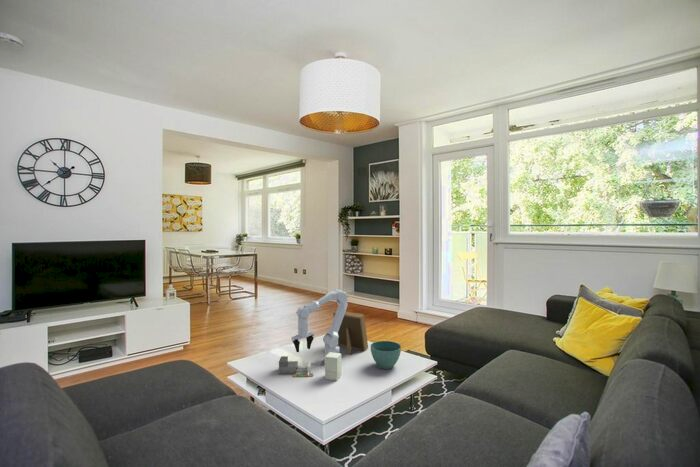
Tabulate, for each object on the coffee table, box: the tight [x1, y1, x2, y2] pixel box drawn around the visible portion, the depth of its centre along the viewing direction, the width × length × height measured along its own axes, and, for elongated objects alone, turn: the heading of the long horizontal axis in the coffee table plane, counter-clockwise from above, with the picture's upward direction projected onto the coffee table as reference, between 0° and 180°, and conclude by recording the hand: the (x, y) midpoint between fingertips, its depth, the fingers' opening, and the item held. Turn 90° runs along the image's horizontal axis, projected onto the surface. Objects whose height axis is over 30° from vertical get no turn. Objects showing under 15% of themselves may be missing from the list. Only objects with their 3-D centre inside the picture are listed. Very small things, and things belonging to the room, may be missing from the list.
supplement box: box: [324, 352, 343, 381], centre depth 194 cm, size 7×7×13 cm
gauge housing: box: [278, 355, 299, 375], centre depth 202 cm, size 10×8×7 cm
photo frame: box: [332, 309, 369, 355], centre depth 236 cm, size 15×22×25 cm
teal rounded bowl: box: [369, 340, 402, 370], centre depth 209 cm, size 18×18×12 cm
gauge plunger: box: [297, 360, 312, 376], centre depth 200 cm, size 11×12×4 cm
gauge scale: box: [292, 372, 314, 378], centre depth 196 cm, size 11×4×1 cm, turn 92°
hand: (303, 350), depth 208 cm, fingers open, 7 cm apart
